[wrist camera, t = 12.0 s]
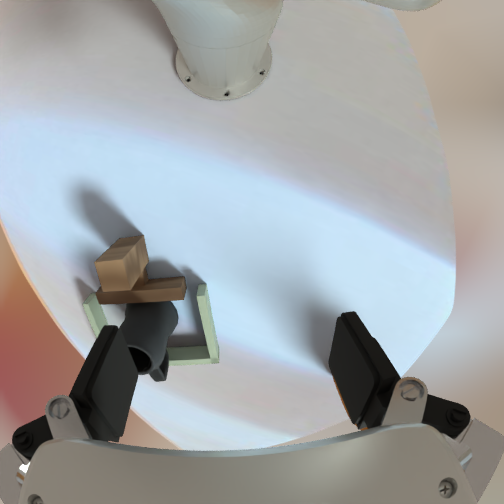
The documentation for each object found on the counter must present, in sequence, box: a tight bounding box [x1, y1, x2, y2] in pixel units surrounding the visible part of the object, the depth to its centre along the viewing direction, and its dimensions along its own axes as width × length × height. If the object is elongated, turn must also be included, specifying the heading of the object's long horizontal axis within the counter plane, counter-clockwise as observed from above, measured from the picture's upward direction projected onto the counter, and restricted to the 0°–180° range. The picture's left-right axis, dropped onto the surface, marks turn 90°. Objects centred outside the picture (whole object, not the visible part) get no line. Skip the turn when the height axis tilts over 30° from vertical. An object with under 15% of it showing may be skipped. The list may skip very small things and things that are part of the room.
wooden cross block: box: [94, 235, 187, 305], centre depth 34 cm, size 9×14×9 cm, turn 94°
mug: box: [119, 301, 178, 382], centre depth 37 cm, size 12×9×11 cm
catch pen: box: [83, 284, 219, 366], centre depth 41 cm, size 13×20×4 cm, turn 95°
